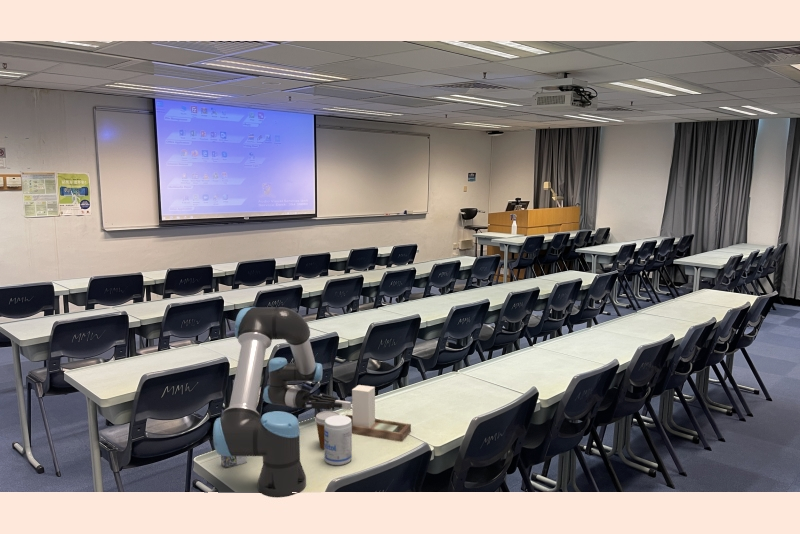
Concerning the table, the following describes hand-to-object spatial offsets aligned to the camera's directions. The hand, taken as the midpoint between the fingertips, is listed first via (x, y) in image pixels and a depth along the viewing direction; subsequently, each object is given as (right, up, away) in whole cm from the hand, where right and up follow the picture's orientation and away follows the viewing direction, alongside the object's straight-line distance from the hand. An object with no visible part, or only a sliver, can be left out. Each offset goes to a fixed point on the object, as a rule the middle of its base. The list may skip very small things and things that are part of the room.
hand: (350, 405), depth 231 cm
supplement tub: (-2, -13, -27) cm, 30 cm away
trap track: (+9, -9, -3) cm, 13 cm away
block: (+5, -7, -2) cm, 9 cm away
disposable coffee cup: (-7, -11, -16) cm, 21 cm away
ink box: (-38, -13, -30) cm, 50 cm away
